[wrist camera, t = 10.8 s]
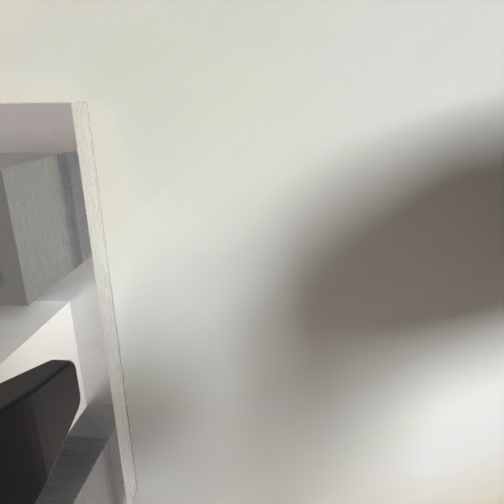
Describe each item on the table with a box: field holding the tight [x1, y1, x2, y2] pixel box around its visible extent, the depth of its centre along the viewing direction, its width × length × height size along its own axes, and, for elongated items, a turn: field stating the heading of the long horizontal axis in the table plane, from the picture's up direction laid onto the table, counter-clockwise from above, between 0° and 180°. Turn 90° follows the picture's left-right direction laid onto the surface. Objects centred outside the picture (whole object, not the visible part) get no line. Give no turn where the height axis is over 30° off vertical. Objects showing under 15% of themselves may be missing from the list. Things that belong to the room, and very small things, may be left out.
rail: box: [0, 102, 137, 504], centre depth 21 cm, size 7×22×6 cm, turn 1°
